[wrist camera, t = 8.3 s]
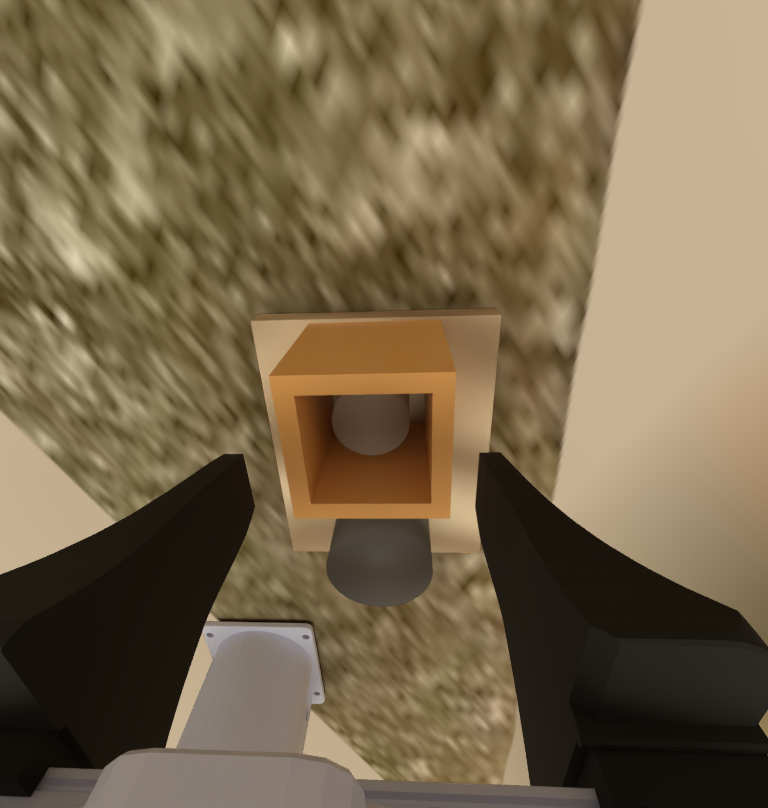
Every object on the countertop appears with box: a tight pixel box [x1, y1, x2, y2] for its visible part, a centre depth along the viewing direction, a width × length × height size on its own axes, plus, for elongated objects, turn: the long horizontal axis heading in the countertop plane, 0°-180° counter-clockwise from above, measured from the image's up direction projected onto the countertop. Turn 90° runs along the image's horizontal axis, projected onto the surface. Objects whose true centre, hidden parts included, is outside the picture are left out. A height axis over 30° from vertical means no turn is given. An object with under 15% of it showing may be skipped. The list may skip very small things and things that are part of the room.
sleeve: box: [269, 320, 456, 519], centre depth 17 cm, size 6×6×6 cm
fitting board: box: [251, 308, 501, 607], centre depth 20 cm, size 14×11×5 cm
